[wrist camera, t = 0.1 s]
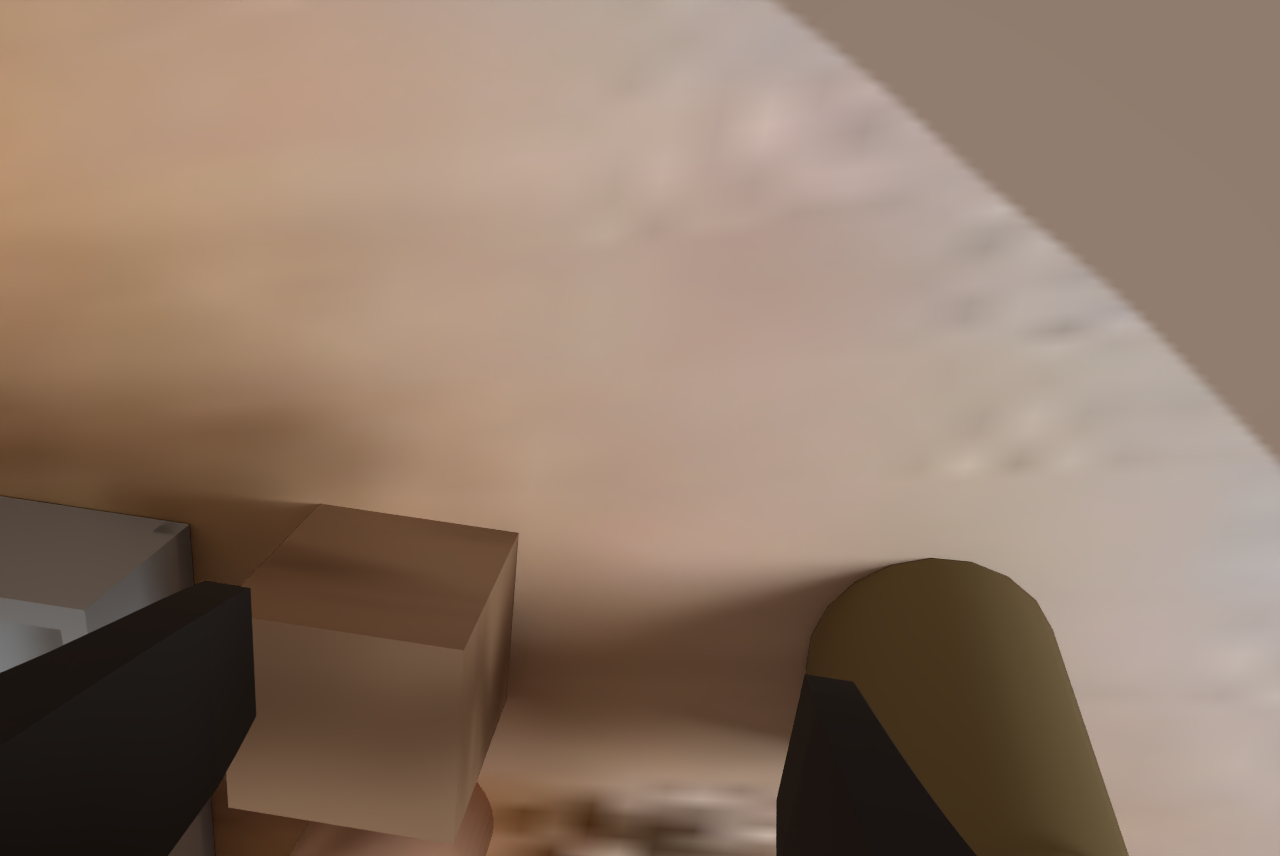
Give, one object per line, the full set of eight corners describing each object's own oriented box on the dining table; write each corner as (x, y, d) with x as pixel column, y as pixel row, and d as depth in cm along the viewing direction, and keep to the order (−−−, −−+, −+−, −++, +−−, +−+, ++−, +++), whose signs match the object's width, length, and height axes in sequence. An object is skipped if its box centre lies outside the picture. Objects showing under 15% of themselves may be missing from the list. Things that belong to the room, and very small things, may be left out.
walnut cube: (507, 697, 24) (453, 844, 19) (324, 668, 24) (228, 807, 20) (519, 531, 22) (463, 650, 18) (321, 502, 22) (214, 612, 18)
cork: (1003, 786, 23) (1215, 1330, 13) (777, 731, 24) (815, 1232, 13) (1097, 592, 21) (1438, 1066, 11) (847, 531, 21) (957, 949, 11)
